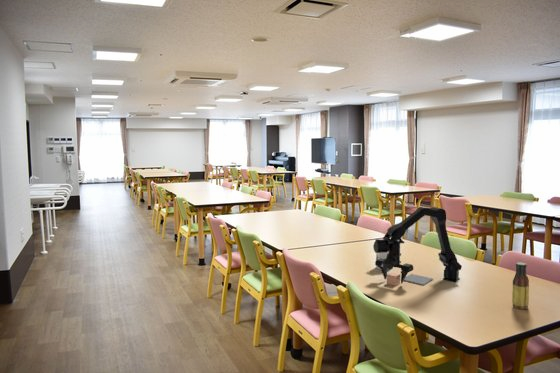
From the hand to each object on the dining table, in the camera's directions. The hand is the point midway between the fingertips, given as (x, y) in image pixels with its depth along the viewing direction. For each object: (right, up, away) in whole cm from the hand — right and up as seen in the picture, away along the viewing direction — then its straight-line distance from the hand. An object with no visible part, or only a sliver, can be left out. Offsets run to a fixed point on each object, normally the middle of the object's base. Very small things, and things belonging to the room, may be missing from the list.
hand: (393, 281), depth 212 cm
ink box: (+2, +1, +25) cm, 26 cm away
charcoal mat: (+14, -1, +5) cm, 15 cm away
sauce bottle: (+47, -4, -32) cm, 57 cm away
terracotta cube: (0, -1, 0) cm, 1 cm away
